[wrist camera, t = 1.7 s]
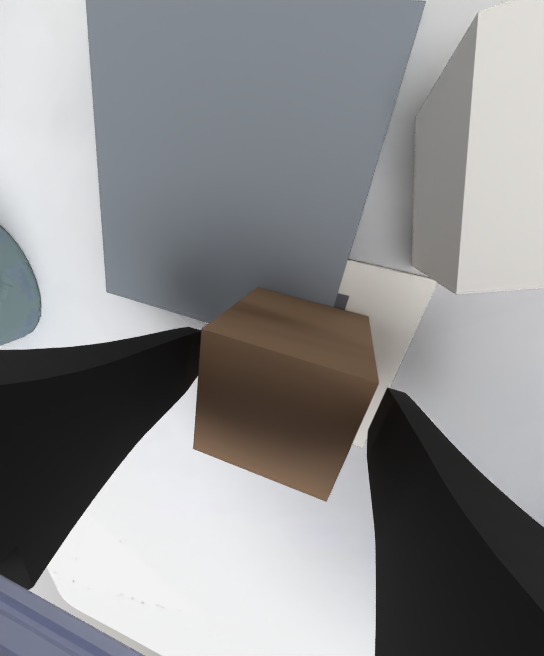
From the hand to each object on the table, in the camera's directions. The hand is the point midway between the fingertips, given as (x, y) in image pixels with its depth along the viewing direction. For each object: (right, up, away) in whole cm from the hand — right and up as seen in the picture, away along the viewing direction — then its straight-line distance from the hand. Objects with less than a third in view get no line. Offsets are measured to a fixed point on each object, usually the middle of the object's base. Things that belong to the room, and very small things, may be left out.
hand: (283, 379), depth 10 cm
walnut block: (+1, +1, +3) cm, 3 cm away
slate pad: (-3, +8, +1) cm, 8 cm away
